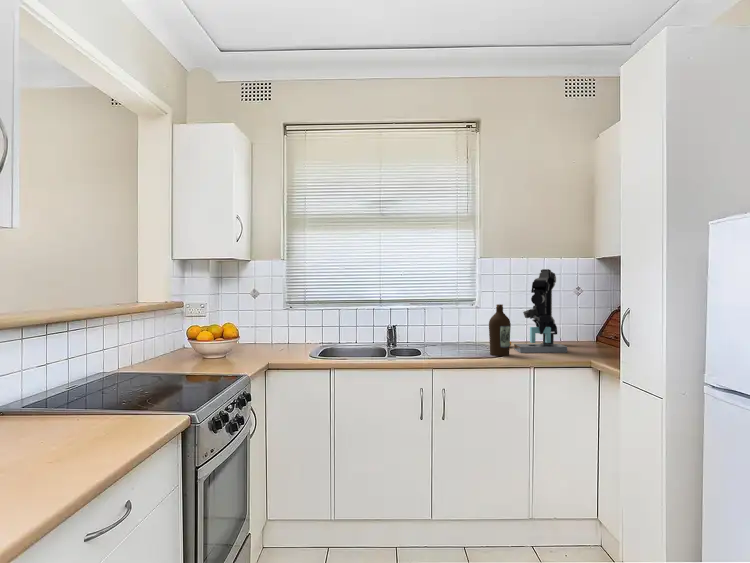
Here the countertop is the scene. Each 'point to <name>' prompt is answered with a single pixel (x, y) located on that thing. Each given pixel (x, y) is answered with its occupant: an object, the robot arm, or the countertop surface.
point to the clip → (536, 330)
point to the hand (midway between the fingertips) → (540, 333)
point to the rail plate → (540, 348)
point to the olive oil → (499, 333)
